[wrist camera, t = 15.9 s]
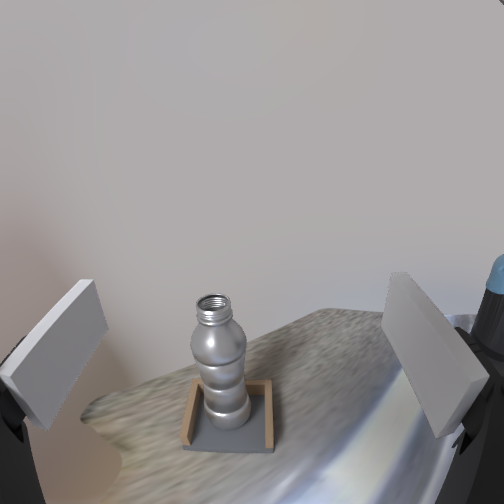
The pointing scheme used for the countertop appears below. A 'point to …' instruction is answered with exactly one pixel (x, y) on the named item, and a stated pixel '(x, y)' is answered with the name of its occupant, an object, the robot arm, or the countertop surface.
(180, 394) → the countertop surface
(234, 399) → the silver metal bottle
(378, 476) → the countertop surface
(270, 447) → the tray
